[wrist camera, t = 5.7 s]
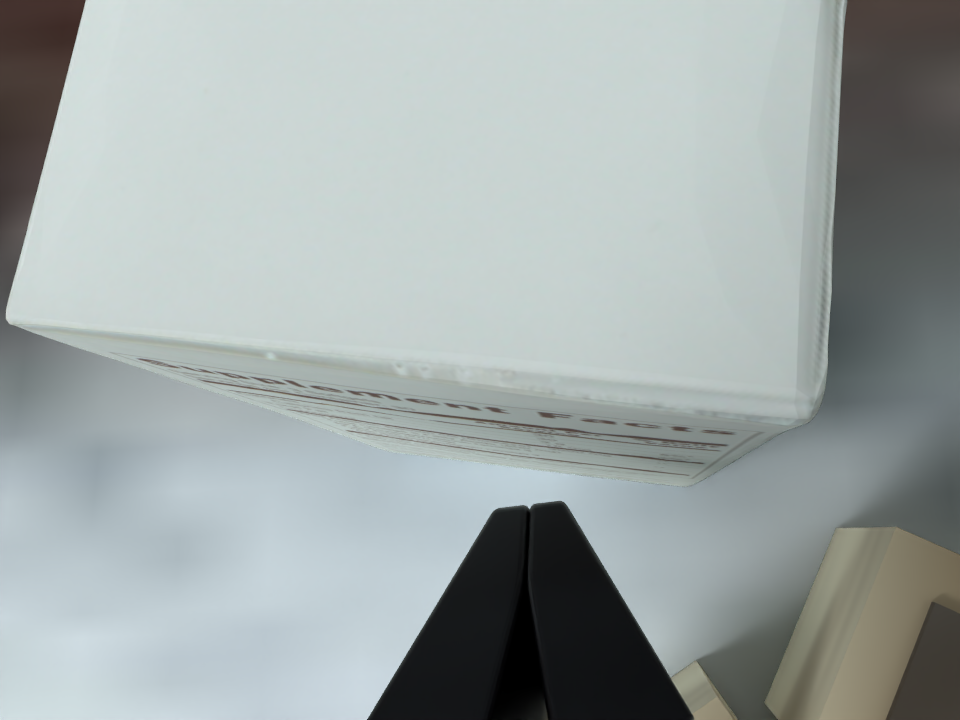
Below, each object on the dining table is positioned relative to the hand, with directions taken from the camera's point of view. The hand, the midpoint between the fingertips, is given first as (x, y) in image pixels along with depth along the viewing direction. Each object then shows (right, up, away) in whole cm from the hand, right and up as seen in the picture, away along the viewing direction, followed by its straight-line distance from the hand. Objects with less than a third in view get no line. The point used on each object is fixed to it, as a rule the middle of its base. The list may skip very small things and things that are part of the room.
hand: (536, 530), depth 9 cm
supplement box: (+1, +3, +10) cm, 10 cm away
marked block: (+8, -4, +7) cm, 11 cm away
